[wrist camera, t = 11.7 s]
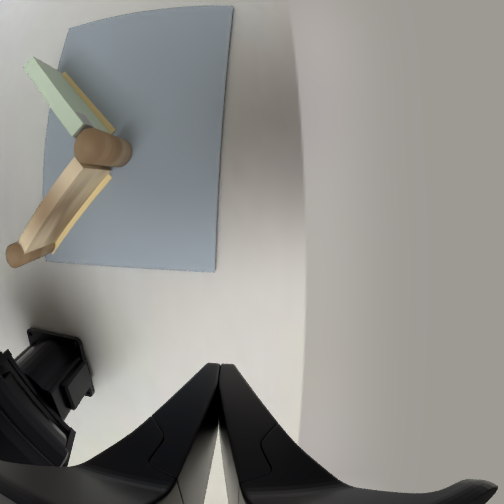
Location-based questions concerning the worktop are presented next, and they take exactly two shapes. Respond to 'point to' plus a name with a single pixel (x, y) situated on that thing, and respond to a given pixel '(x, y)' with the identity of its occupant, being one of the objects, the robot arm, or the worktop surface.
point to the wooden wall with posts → (69, 193)
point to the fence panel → (62, 98)
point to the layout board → (148, 137)
